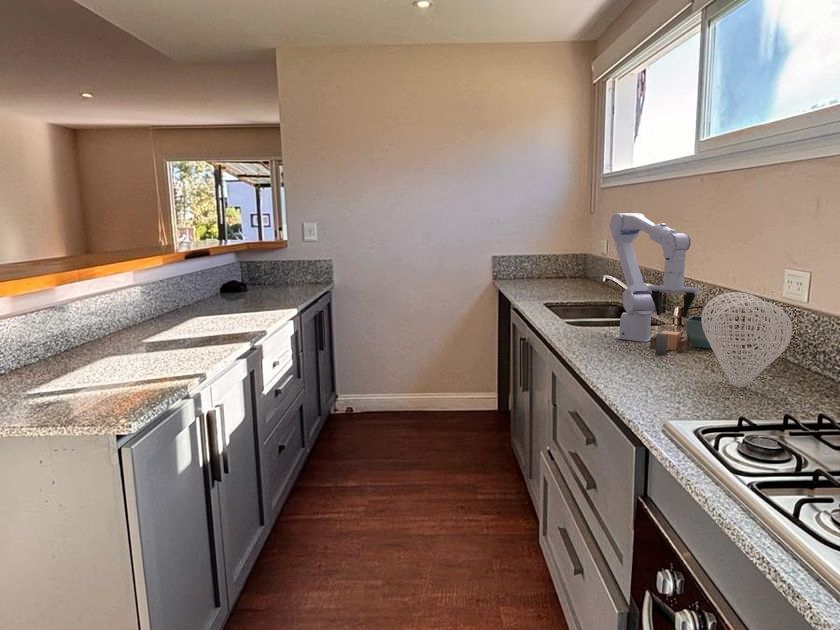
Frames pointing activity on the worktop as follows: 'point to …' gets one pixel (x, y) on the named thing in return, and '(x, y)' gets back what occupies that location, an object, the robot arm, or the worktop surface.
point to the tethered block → (667, 342)
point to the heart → (769, 334)
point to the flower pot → (697, 332)
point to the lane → (683, 343)
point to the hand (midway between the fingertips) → (671, 316)
